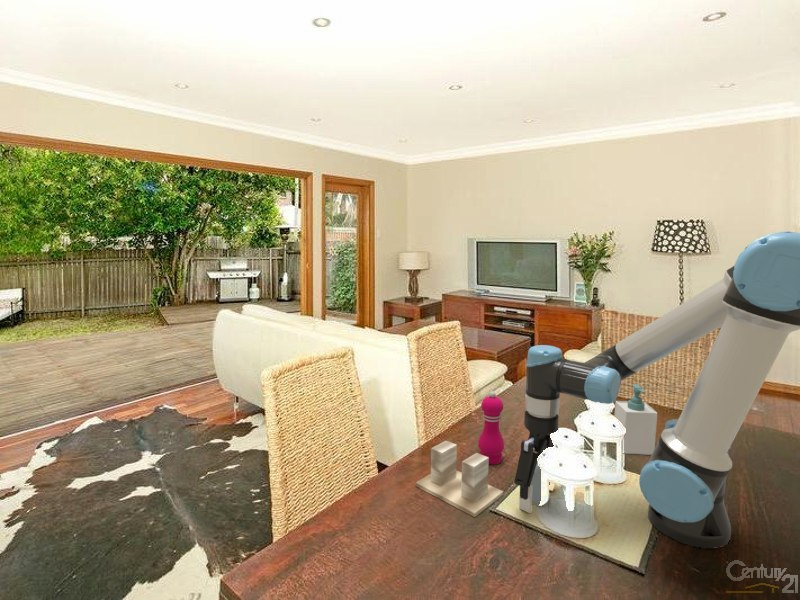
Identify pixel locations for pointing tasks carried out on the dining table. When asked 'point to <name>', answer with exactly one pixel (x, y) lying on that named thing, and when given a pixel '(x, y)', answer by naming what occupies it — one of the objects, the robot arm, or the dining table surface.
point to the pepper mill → (491, 429)
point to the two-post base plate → (459, 480)
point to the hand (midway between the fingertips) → (537, 499)
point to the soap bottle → (637, 423)
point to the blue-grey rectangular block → (536, 486)
